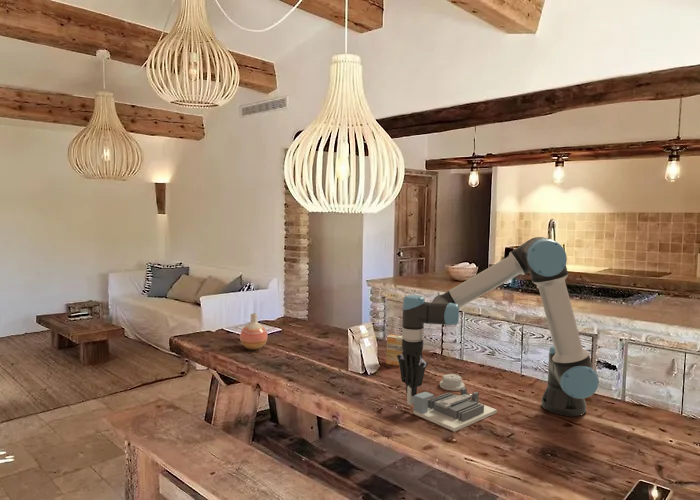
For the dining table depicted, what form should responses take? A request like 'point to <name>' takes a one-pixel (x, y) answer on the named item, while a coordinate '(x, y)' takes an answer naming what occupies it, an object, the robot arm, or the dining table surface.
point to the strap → (454, 400)
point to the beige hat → (452, 382)
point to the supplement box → (393, 349)
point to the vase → (253, 334)
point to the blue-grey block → (422, 402)
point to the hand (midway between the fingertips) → (411, 403)
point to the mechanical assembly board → (456, 411)
